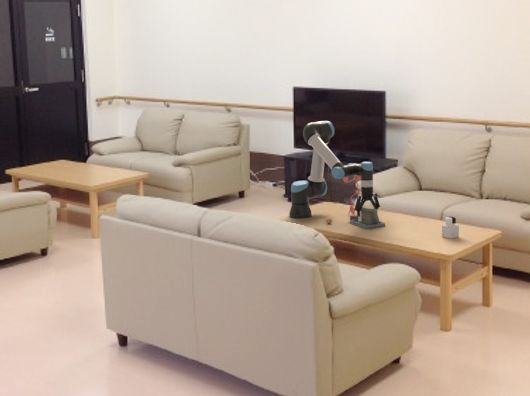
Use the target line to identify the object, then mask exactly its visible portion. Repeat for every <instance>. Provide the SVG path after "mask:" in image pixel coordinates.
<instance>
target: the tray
mask: <svg viewBox="0 0 530 396" xmlns="http://www.w3.org/2000/svg"><path fill="white" fill-rule="evenodd" d="M349 223H350V224H352V225H354V226H357V227H360V228H363V229H365V230H370V229H371V230H372V229H376V228H377V227H378V228H382V227H386V223H385V222H383V221H380V224H374V225H369V226H368V225H364V224H362V223H359V221H358V219H354V220H350V219H349ZM378 228H377V229H378Z"/></svg>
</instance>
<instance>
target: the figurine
mask: <svg viewBox="0 0 530 396" xmlns="http://www.w3.org/2000/svg"><path fill="white" fill-rule="evenodd" d="M342 180H343V182H344V183H345V184H349V183H351V182H352V181H355V183H356V188H357V190H355V194H353V195H352V196H350V198H352V197H354V196H355V195H361V194H360V192H361V191H360V190H359V184H358V182H361V176H353V179H351V180H349V177H345V178H342ZM350 204H351V205H350V206H349V211H348V215H349V214H350V213H351V215H353V214H355V213H356V211H355V210H354V209H355V206H353V201H352V199H350ZM355 215H356V214H355Z"/></svg>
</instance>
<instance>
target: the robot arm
mask: <svg viewBox="0 0 530 396" xmlns="http://www.w3.org/2000/svg"><path fill="white" fill-rule="evenodd" d="M302 131H303V132H302V135H303V139H304V141H305V142H306V143H307V144H308V146H311V147H312V148H313V151H312V159H311V168H310V175H309V176H308V177H307V180H296V181H293V183H291V185H290V186H291V188H290V193H291V206H290V210H289V212H288V213H289V217H290V218H293V219H294V218H295V219H305V218H310V217H312V209H311V207H310V204H309V203H310V202H309V201H310V200H311V199H316V198H320V197H323V196H325V195H326V194H327V192H328V191H327V190H328V185H327V182H326V180H325V177H324V170H325V164H326V165H327V166H328V167H329V169H331V175H332V178H334V179H336V180H337V179H338V180H339V179H343V178H345V177H348V178H349V177H354V176H361V181H360V185H361V187H360V189H361V191H360V192H361V194H360V195H359V194H356V195H357V196H356V203H355V206H354V210H355V212H356V215H357V216H358V221H360V222H361V221H362V212H361V209H362V207H364V204H365V203H366V202H368V201H369V203H370V204H371V206H372V209H375V210H376V211H377V212H378V210H379V208H380V207H381V205H380V202H379V199H378V194H377V193H376V192H374V178H373V177H374V165H373V162H372V161H362V162H360V163H356V162H350V163H348V164H346V165H344V164H343V163H342V162H341V161H340V160H339V158H338V157H337V156H336V155H335V154H334V153H333V151H332V150H331V149H330V148H329V146H328V144H329V143H330V141H331V138H332V137H334V135H335V127H334V125H333V123H332V122H331V121H329V120H320V121H313V122H309V123H307V124H306V125H305V126H304V127H303V130H302Z"/></svg>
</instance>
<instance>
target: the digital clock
mask: <svg viewBox="0 0 530 396" xmlns="http://www.w3.org/2000/svg"><path fill="white" fill-rule="evenodd" d="M361 212H362V221H361V222H360V221H359V223H362V224H364V225H368V226H369V225H374V224H380V222H381V221H380V217H379V214H378V210H377V211H376V210H375V209H373V208H369V207H365V206H363V207H362V209H361Z"/></svg>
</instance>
